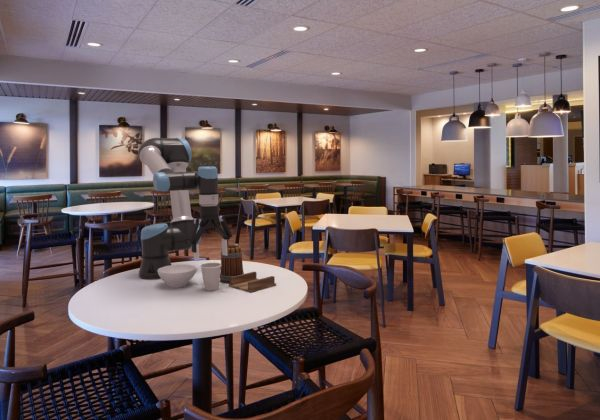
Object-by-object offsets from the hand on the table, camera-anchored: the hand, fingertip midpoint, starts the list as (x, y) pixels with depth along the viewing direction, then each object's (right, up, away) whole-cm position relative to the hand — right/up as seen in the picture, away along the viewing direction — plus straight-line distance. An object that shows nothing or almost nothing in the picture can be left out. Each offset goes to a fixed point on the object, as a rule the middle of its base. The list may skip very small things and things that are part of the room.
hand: (211, 257), depth 178 cm
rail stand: (+16, -12, +5) cm, 21 cm away
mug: (+7, -11, +17) cm, 22 cm away
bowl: (-16, -13, +8) cm, 22 cm away
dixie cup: (0, -13, +2) cm, 13 cm away
